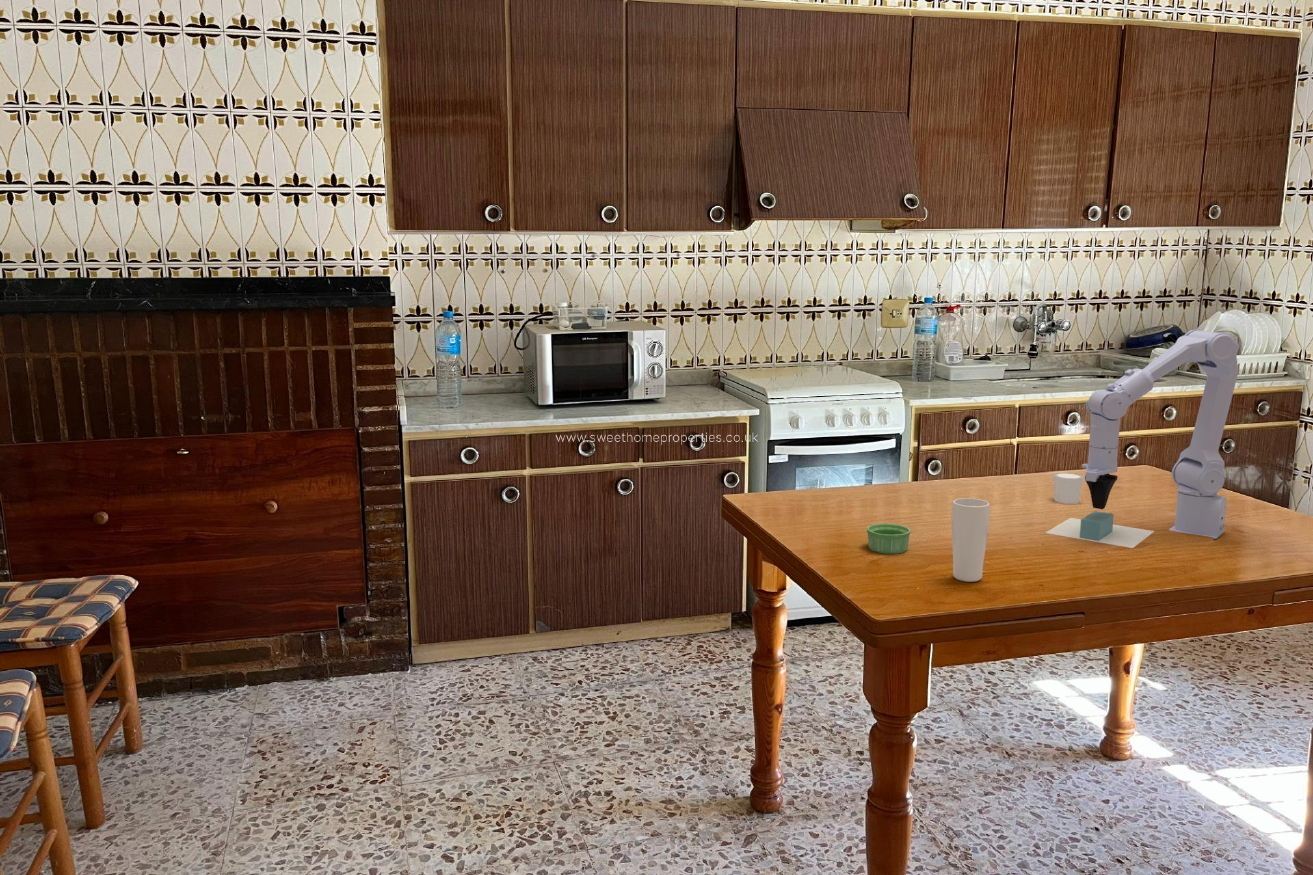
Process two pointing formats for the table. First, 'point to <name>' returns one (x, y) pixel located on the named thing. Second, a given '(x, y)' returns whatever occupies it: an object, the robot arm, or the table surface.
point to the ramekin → (888, 538)
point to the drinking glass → (969, 537)
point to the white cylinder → (1067, 488)
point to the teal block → (1096, 525)
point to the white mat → (1116, 537)
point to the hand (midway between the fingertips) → (1098, 508)
